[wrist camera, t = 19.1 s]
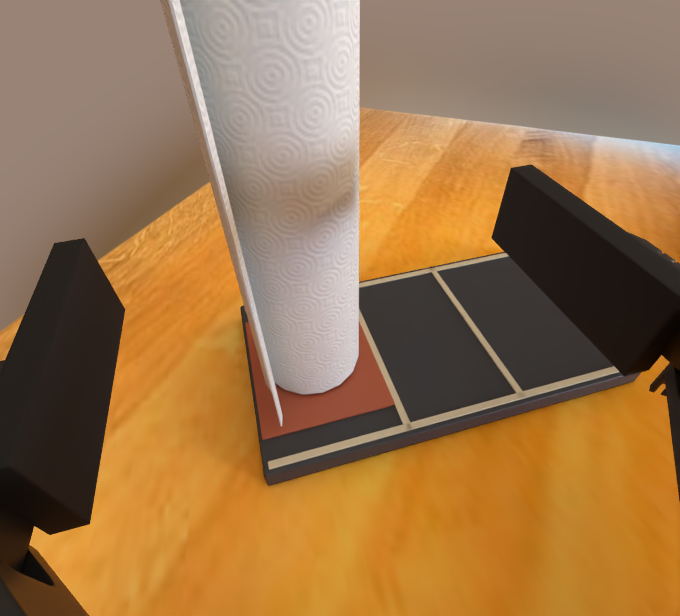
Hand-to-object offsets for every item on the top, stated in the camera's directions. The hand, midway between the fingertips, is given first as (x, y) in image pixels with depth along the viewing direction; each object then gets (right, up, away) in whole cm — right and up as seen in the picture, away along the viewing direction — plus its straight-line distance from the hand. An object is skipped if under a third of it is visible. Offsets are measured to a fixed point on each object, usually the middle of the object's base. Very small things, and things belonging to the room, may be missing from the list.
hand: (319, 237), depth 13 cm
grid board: (+6, -5, +15) cm, 17 cm away
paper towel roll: (-2, -6, +13) cm, 14 cm away
